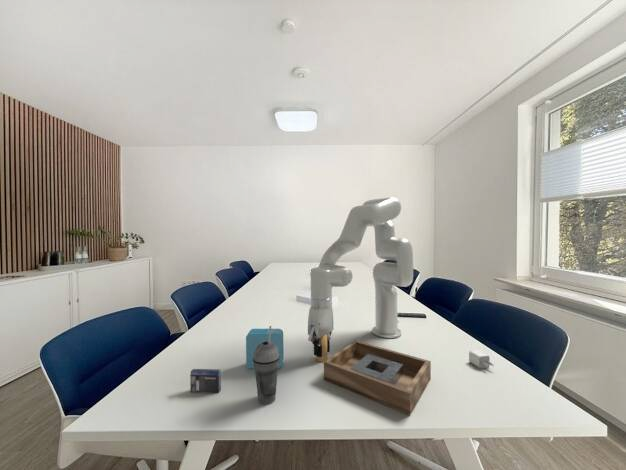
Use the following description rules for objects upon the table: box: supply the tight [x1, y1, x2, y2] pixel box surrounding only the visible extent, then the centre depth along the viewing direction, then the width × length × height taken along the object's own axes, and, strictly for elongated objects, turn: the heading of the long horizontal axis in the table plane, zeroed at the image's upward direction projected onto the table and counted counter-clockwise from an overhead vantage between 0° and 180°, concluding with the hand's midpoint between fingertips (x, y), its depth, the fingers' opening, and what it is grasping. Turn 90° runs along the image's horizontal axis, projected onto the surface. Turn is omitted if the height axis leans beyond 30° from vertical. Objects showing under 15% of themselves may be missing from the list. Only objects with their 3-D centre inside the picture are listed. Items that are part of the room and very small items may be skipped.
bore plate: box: [350, 354, 403, 385], centre depth 80 cm, size 12×12×3 cm
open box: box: [323, 339, 432, 416], centre depth 80 cm, size 20×26×6 cm
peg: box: [315, 334, 328, 363], centre depth 93 cm, size 4×4×10 cm
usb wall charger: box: [468, 349, 495, 369], centre depth 87 cm, size 4×7×4 cm, turn 10°
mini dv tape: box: [189, 368, 222, 394], centre depth 75 cm, size 8×2×6 cm, turn 87°
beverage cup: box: [253, 325, 280, 406], centre depth 71 cm, size 7×7×20 cm
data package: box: [245, 328, 285, 370], centre depth 89 cm, size 12×4×12 cm, turn 89°
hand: (321, 353), depth 93 cm, fingers closed on peg, 4 cm apart
